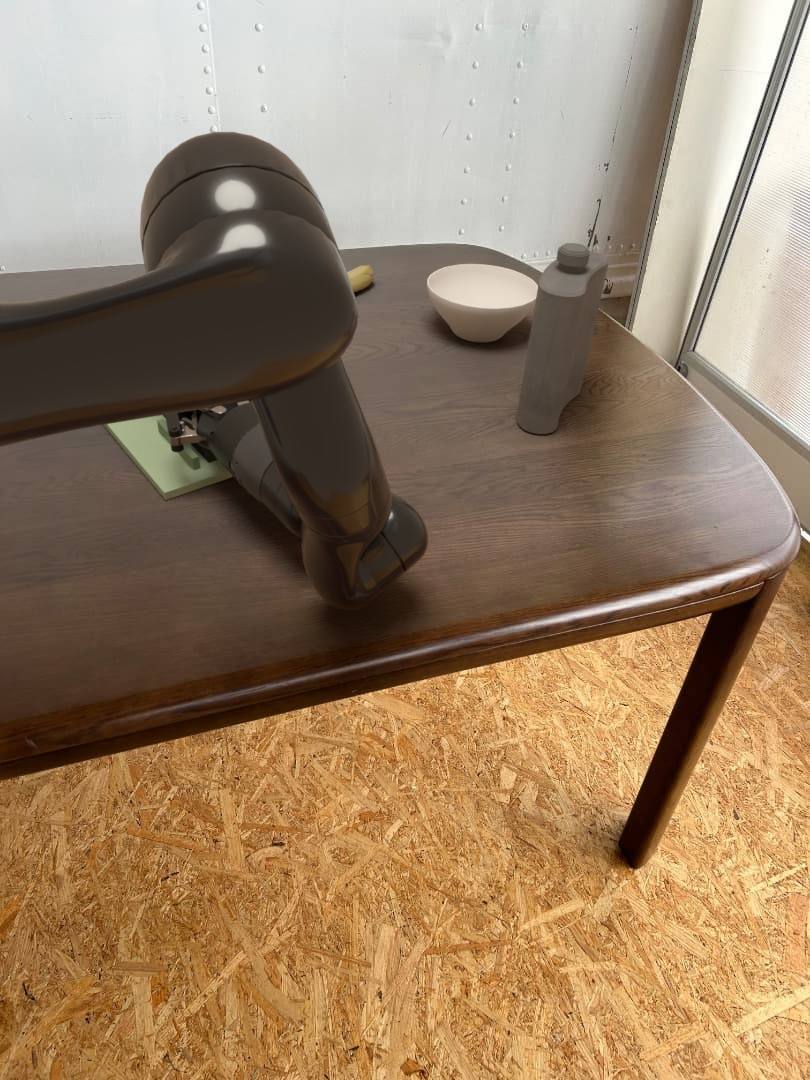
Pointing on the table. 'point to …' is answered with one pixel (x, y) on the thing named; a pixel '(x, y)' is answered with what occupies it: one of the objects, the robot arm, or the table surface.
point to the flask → (560, 336)
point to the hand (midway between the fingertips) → (191, 382)
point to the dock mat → (165, 457)
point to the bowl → (481, 299)
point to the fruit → (361, 277)
